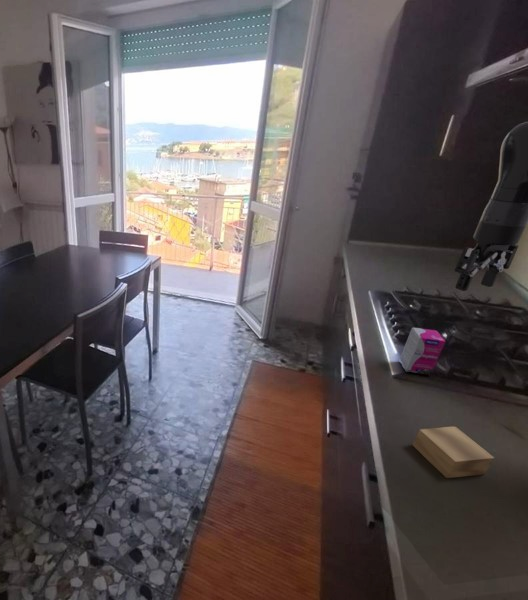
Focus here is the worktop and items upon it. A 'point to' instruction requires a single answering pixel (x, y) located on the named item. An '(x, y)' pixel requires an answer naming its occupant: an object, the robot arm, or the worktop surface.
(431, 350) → the supplement box
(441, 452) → the maple block
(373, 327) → the worktop surface
